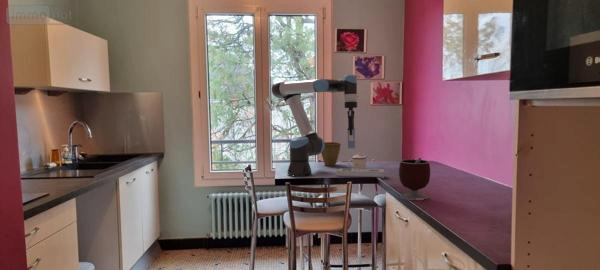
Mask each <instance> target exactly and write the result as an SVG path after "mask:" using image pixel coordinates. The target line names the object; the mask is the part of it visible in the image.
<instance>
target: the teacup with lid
mask: <svg viewBox="0 0 600 270" xmlns="http://www.w3.org/2000/svg"><path fill="white" fill-rule="evenodd" d="M366 159H367V156H365V155H364V154H362V153H361V152H357V154H355V155H353V156H352V157H351V159H349V160H348V162H347V164H348V167H350V168H352V169H367V166H366V164H367V162H366V161H367V160H366ZM351 162H352V165H351V164H350V163H351Z"/></svg>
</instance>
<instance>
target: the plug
mask: <svg viewBox="0 0 600 270" xmlns="http://www.w3.org/2000/svg"><path fill="white" fill-rule="evenodd" d="M353 140H354V141H349V130H347V149H356V127H354V128H353Z"/></svg>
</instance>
